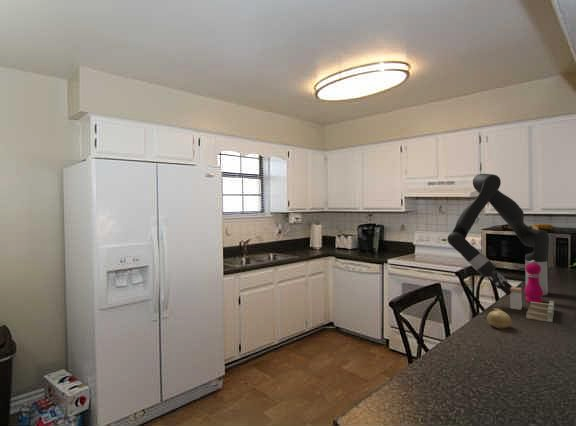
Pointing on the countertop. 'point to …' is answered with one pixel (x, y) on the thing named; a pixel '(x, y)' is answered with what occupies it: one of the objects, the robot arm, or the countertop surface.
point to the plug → (516, 298)
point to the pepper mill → (533, 283)
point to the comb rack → (541, 311)
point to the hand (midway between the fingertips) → (511, 291)
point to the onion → (499, 319)
